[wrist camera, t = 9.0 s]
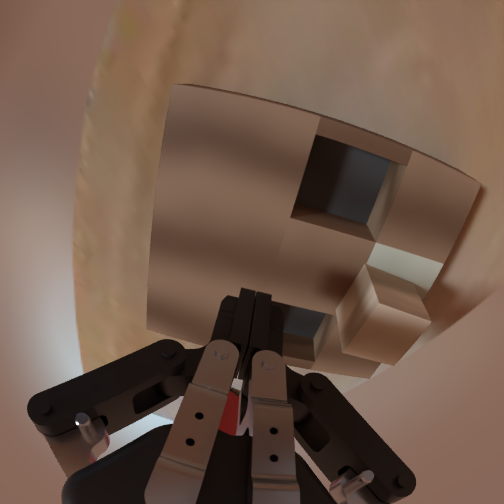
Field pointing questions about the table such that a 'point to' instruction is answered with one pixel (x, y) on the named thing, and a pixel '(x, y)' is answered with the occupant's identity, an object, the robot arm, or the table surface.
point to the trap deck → (289, 218)
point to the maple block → (380, 316)
